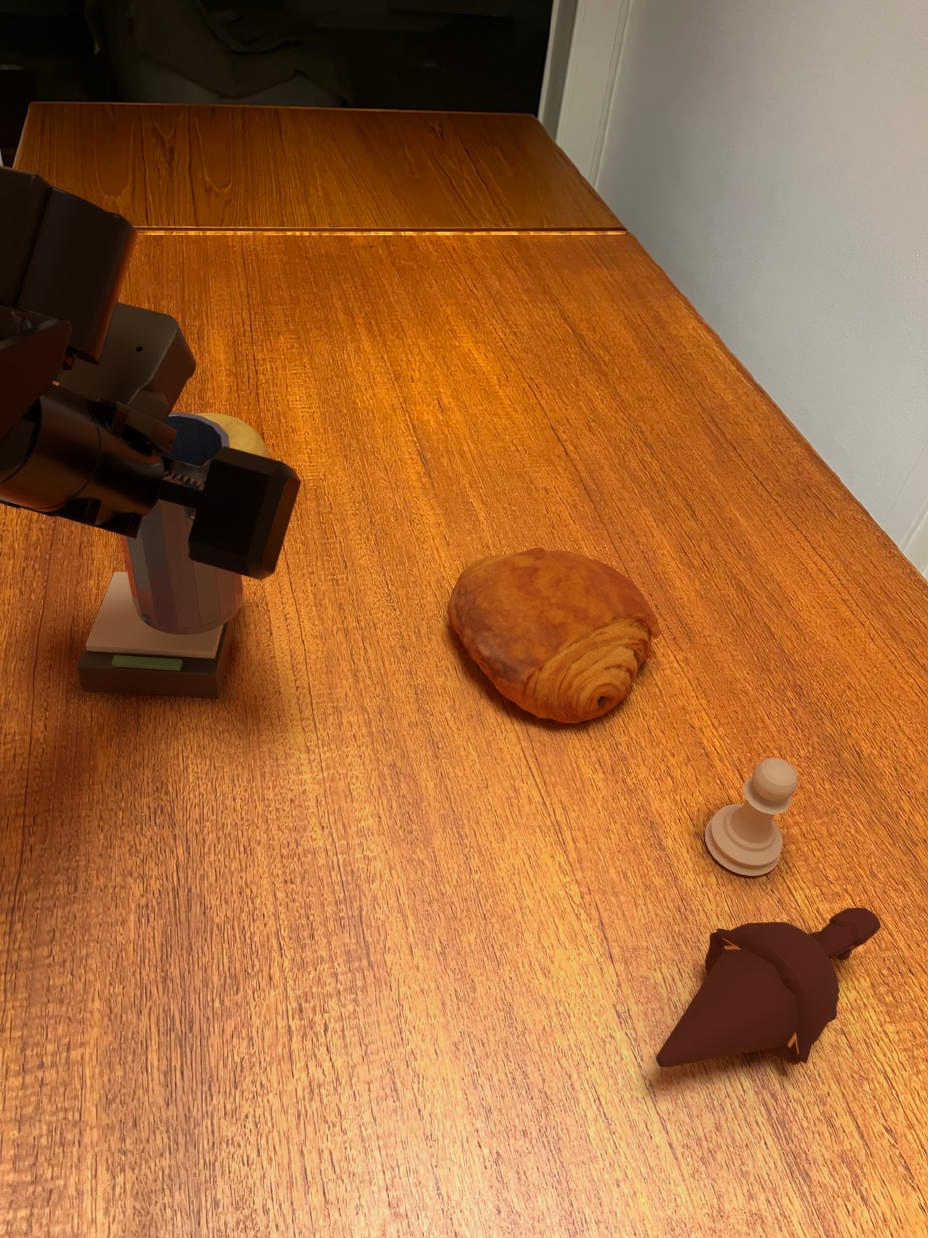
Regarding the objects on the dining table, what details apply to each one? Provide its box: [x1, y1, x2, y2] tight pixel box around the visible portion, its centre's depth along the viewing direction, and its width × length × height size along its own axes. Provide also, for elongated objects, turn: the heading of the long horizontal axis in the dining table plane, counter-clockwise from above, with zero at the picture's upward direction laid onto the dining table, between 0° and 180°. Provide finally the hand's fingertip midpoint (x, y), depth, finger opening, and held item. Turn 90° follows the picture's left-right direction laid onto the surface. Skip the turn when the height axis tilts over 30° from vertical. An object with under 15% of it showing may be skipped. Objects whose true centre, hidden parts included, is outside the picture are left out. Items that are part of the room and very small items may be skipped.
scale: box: [76, 571, 242, 699], centre depth 67 cm, size 9×9×3 cm
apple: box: [193, 412, 273, 459], centre depth 77 cm, size 10×10×8 cm
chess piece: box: [704, 757, 799, 877], centre depth 58 cm, size 5×5×8 cm
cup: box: [119, 411, 244, 635], centre depth 60 cm, size 7×7×12 cm
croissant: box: [446, 547, 661, 724], centre depth 69 cm, size 14×16×8 cm
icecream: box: [655, 907, 882, 1069], centre depth 50 cm, size 7×7×15 cm
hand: (189, 506), depth 60 cm, fingers closed on cup, 7 cm apart
